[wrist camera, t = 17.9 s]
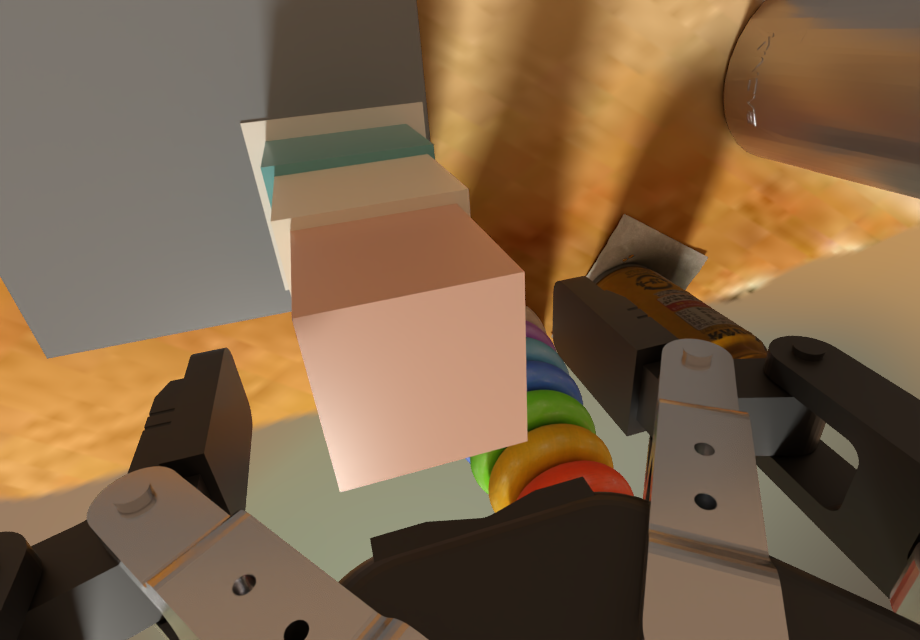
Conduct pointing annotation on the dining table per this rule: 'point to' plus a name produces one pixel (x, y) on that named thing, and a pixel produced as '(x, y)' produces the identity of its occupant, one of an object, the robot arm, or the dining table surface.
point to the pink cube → (410, 341)
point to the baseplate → (173, 150)
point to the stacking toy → (548, 434)
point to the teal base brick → (340, 151)
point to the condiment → (667, 287)
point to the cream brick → (359, 195)
